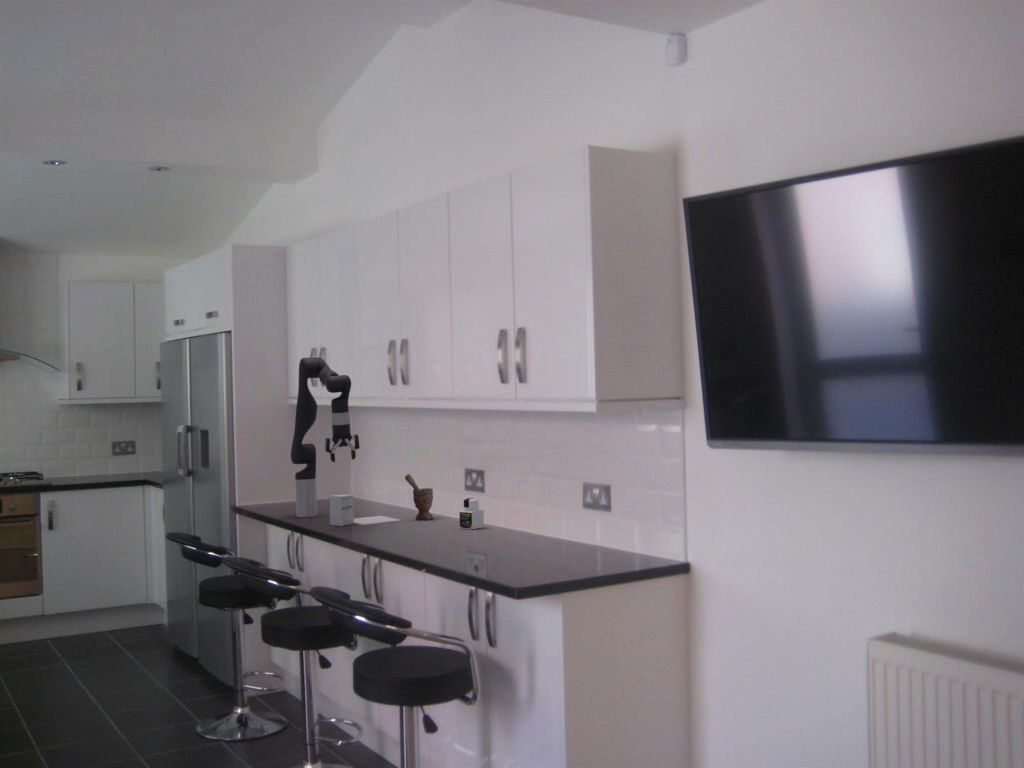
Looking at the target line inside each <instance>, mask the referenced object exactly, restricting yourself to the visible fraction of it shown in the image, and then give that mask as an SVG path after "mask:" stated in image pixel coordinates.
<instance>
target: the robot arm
mask: <svg viewBox="0 0 1024 768" xmlns="http://www.w3.org/2000/svg"><path fill="white" fill-rule="evenodd" d="M309 379H319V381H320V382H321V384H323V386H325V388H326V390H327V392H328V393H332V394H336V393H340V395H339V396H338V397H334V398H332V400H330V402H331V403H330V405H331V428H332V429H331V430H332V431H331V432H332V433H331V434H332V437H325V439H324V440H325V442H324V444H325V445H324V446H325V452H326V453H329V455H330V461H331V462H332V463H336V455H335V454H336V453H335V452H336V450H337V449H338V448H342V447H343V448H344V447H349V449H350V458H351V460H355V459H356V457H357V456H356V455H357V454H356V451H357V450H359V449H360V447H361V446H360V439H359V435H358V434H351V419H350V418H351V417H350V413H349V398H350V394H351V393H350V392H351V389H352V380H351V377H350V376H348V375H347V374H341V375H339V374H338V373H337V372H336V371H334V370H332V369H331V368H330V366H329V365H328V363H327V362H326V360H324V359H323V358H322V357H302V358H301V359H300V360H299V365H298V386H297V387H298V390H297V397H296V398H297V399H296V408H295V418H294V419H295V421H294V430H293V431H294V433H293V436H292V437H293V438H292V442H291V448H290V460H291V463H292V464H294V465H306V466H305V467H304V468H303V469H302V470H299V471H297V472H295V475H294V478H295V482H294V483H295V484H294V485H295V506H296V509H295V511H296V517H297V518H313V517H317V516H318V506H317V505H318V503H317V502H318V501H317V499H318V498H317V478H316V477H317V475H316V474H317V448H316V446H315V444H314V443H309V442H308V443H303V440H304V437H305V436H306V434H307V433H308V432H309V431H310V429H311V428H312V427H313V425H314V424H315V422H316V421H317V413H318V404H317V401H316V398H315V397H314V395H313V394H312V392H311V391H310V389H309V385H308V380H309ZM352 440H353V441H354V445H353V443H351V441H352ZM332 442H333V444H332ZM331 444H332V446H331Z"/></svg>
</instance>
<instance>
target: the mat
mask: <svg viewBox="0 0 1024 768" xmlns="http://www.w3.org/2000/svg"><path fill="white" fill-rule="evenodd" d="M398 522H399V523H400V522H402V520H401V519H398V518H393V517H389V516H385V515H376V516H367V517H357V518H356V517H354V525H359V526H362V527H363V526H373V525H381V524H389V523H398Z"/></svg>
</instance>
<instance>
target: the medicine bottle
mask: <svg viewBox="0 0 1024 768" xmlns="http://www.w3.org/2000/svg"><path fill="white" fill-rule="evenodd" d="M479 505H480V504H479V499H478V498H475V497H474V498H473V497H469V498H465V499H464V500H463V510H460V511H459V512H458V513H459V529H460V528H462V529H461V530H469V529H474V530H477V528H479V529H483V527H484V528H485V515H484V510H483V509H480V506H479Z"/></svg>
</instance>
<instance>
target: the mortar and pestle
mask: <svg viewBox="0 0 1024 768" xmlns="http://www.w3.org/2000/svg"><path fill="white" fill-rule="evenodd" d="M404 479H405V480H406V482H407V483H408V484H409V485H410V486H411V487H412V489H413V490H412V493H413V494H412V495H413V503H414V507H415V508H416V509H417V510H418V513H417V514H416V517H415V519H416V520H417V521H425V520H434V517H433V514H432V513H430V509H431V508H432V505H433V500H434V489H433V488H431V487H428V488H427V487H426V488H420V487H419V486H418V484H417V482H416V481H415V479H414V478H413V476H412V475H411V474H409V473H408V474H406V475H405V477H404Z"/></svg>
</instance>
